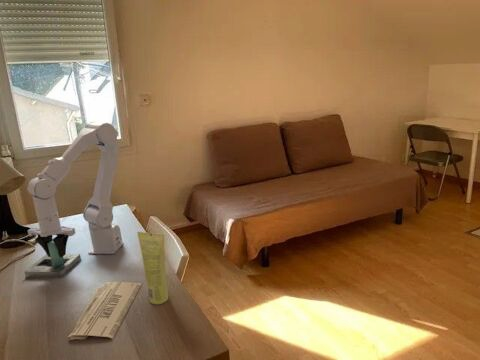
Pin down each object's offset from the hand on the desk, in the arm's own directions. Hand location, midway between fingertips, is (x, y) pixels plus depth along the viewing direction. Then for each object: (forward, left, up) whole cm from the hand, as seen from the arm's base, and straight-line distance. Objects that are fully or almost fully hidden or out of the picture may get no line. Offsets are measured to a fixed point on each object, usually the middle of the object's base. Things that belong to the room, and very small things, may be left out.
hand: (57, 255), depth 114 cm
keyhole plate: (+2, 0, -4) cm, 5 cm away
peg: (0, 0, -3) cm, 3 cm away
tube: (-39, +15, -5) cm, 42 cm away
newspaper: (-26, +20, -5) cm, 33 cm away
